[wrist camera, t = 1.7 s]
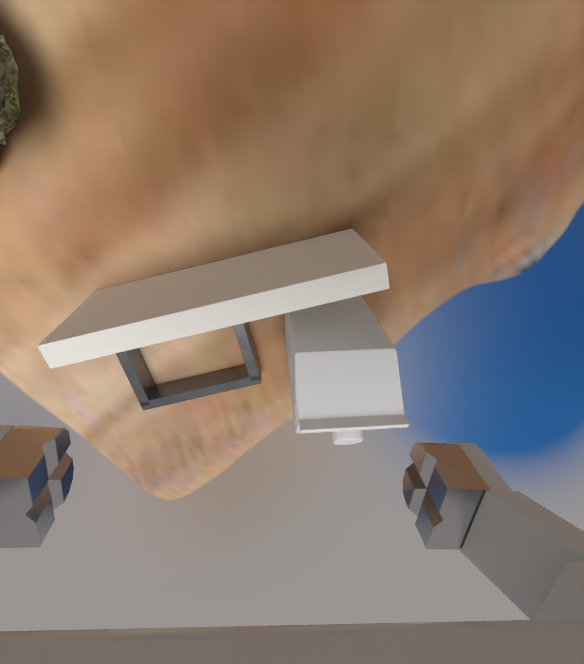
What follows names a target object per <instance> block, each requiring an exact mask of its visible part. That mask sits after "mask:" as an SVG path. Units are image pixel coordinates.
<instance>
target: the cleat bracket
mask: <svg viewBox="0 0 584 664" xmlns="http://www.w3.org/2000/svg"><path fill="white" fill-rule="evenodd" d="M233 327H234V330H235V333H236V336H237V340H238V343H239V346H240V349H241V352H242V355H243V358H244V361H245V365H240V366H236V367H232V368H227V369H223V370H219V371H214V372H210V373H206V374H202V375H197V376H193V377H189V378H184V379H180V380H176V381H171V382H167V383H163V384H159V385H155V383H154V381H153V379H152V377H151V374H150V372H149V370H148V368H147V365H146V363H145V361H144V359H143V357H142V354H141V352H140V350H139V348H136V349H132V350H127V351H123V352H119V353H116V355H117V357H118V359H119V361H120V363H121V365H122V367H123V369H124V371H125V373H126V375H127V378H128V380H129V382H130V384H131V386H132V388H133V390H134V392H135V394H136V396H137V398H138V400H139V403H140V405H141V407H142V409H143V410H147V409H151V408H156V407H160V406H164V405H169V404H173V403H177V402H182V401H186V400H190V399H195V398H199V397H203V396H208V395H212V394H216V393H221V392H225V391H230V390H234V389H238V388H243V387H247V386H251V385H256V384H260V383H261V366H260V363H259V359H258V356H257V353H256V349H255V346H254V343H253V339H252V336H251V333H250V330H249V326H248V323H247V322H246V323H242V324H237V325H233Z"/></svg>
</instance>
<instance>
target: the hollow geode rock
mask: <svg viewBox="0 0 584 664" xmlns="http://www.w3.org/2000/svg"><path fill="white" fill-rule="evenodd" d="M17 82H18V67H17V64H16V62H15V60H14V57H13V54H12V51H11V49H10V48H9V47H8V45H7V44H6V42H5V38H4V35H3V34H2V33H1V32H0V144H4V145H7V141H6V137H7V136H8V135H9V134H10V133H11V131H12V129H13V127H14V126H15V125H16V124H17V119H18V117H19V115H20V114H21V110H20V104H19V100H18V86H17ZM8 143H9V142H8Z"/></svg>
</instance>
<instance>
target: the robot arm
mask: <svg viewBox="0 0 584 664" xmlns="http://www.w3.org/2000/svg"><path fill="white" fill-rule="evenodd" d="M70 444H71V442H70V436H69V431H68V430H66V429H65V428H52V427H36V426H14V425H0V548H19V547H20V548H23V547H40V546H41V544H42V542H43V541H44V539H45V537H46V535H47V533H48V531H49V529H50V528H51V525H52V524H53V522H54V520H55V518H54V511H53V510H54V509H55V508H57V507H58V506H59V505H61V504H62V503H64V501H65V499H66V497H67V495H68V493H69V491H70V487H71V483H72V480H73V469H74V467H73V459H72V458H71V457H70V456H69V455H68V454H67V453H66V450H67V449H68V447H69V445H70ZM410 456H411V459H412V461H413V463H412V464H411V465H410V466H409V467H408V468H407V469H406V470H405V474H404V478H403V493H404V497H405V501H406V504H407V506H408V508H409V509H410V510H411V511H412V512H413V513H415V514H416V515H417V516H418V517H417V520H416V523H415V525H416V526H417V529H418V531H419V534H420V536H421V538H422V540H423V542H424V545H425V547H426V548H427V549H456V550H461V552H462V553H463V554H464V555H465V556H466V557H467V558H468V559H469V560H470V561H471V562H472V563H473V564H474V565H475V566H476V567H478V569H479V570H480V571H481V572H482V573H483V574H484V575H485V576H486V577H487V578H488V579H489V580H491V581H492V583H494V584H495V585H496V586H497V587H498V588H499V589H500V590H501V591H502V592H503V593H504V594H505V595H506V596H507V597H508V598H509V599H510V600H511V601H512V602H513V603H514V604H515V605H516V606H517V607H518V608H519V609H520V610H521V611H522V612H523V613H524V614H525V615H526V616H527V617H528V618H530V620H511V621H462V622H418V623H375V624H374V623H373V624H328V625H283V626H282V625H281V626H234V627H186V628H141V629H140V628H139V629H97V630H95V629H93V630H48V631H47V630H46V631H3V632H2V631H1V632H0V664H584V531H582V530H580V529H579V528H577V527H575V526H574V525H572V524H571V523H569V522H567V521H566V520H564V519H563V518H561V517H559V516H558V515H556V514H554V513H553V512H551V511H550V510H548V509H546V508H545V507H543V506H542V505H540V504H538V503H537V502H535V501H533V500H532V499H530V498H529V497H527V496H525V495H524V494H522V493H520V492H519V491H512V490H511V488H510V487H509V486H508V484H507V483H506V482H505V480H504V479H503V478H502V477H501V475H500V474H499V473H498V471H497V470H496V469H495V467H494V466H493V465H492V463H491V462H490V461H489V460H488V458H487V457H486V456H485V454H484V453H483V452H482V450H481V449H480V448H479V447H478V446H477V445H475V444H473V443H454V444H447V443H418V442H417V443H415V444H414V446H413V447H412V450H411V453H410Z"/></svg>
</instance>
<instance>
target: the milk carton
mask: <svg viewBox="0 0 584 664" xmlns="http://www.w3.org/2000/svg"><path fill="white" fill-rule="evenodd" d="M285 347H286V355H287V363H288V372H289V380H290V389H291V397H292V406H293V414H294V422H295V431H296V433H315V432H332V434H333V443H334V444H337V445H347V444H356V443H360V442H362V441H363V435H362V430H370V429H385V428H399V427H408V426H409V423H408V421H407V420H406V417H405V415H404V409H403V402H402V393H401V385H400V377H399V368H398V360H397V352H396V349H395V347H394V346H393V344H392V343H391V341H390V340H389V338H388V336H387V335H386V333H385V332H384V330H383V329H382V327H381V325H380V324H379V322H378V321H377V319H376V317H375V316H374V314H373V313H372V311H371V310H370V308H369V306H368V305H367V303H366V302H365V300H364V299H363V297H362V295H360V296H356V297H352V298H348V299H343V300H339V301H335V302H331V303H326V304H322V305H318V306H314V307H309V308H305V309H301V310H297V311H292V312H288V313H285Z"/></svg>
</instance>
